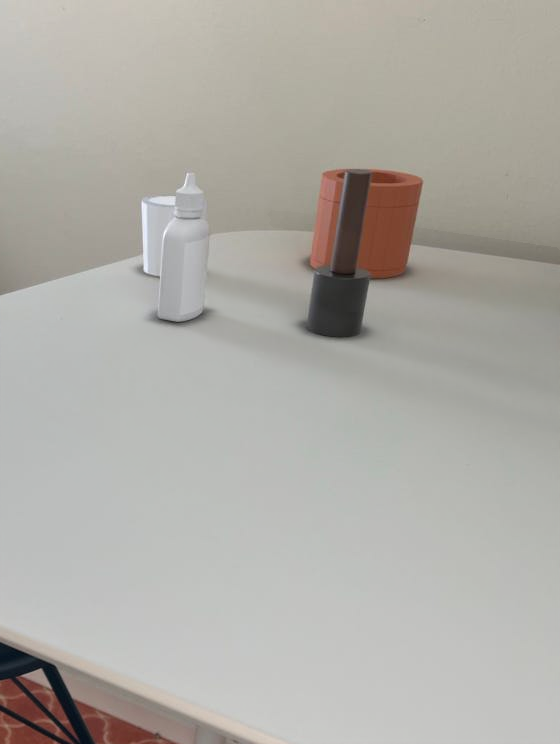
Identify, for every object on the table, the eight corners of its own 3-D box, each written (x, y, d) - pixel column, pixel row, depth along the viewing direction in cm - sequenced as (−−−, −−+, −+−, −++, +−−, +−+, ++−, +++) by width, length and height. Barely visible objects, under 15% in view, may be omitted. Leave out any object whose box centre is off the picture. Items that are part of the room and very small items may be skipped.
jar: (384, 255, 113) (400, 168, 108) (420, 278, 105) (438, 185, 100) (298, 255, 112) (309, 168, 107) (326, 279, 104) (340, 186, 99)
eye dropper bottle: (219, 317, 92) (232, 175, 85) (168, 324, 89) (178, 180, 83) (192, 305, 95) (203, 167, 88) (142, 312, 92) (150, 171, 86)
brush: (350, 320, 92) (376, 166, 84) (368, 336, 88) (397, 176, 80) (299, 321, 91) (321, 166, 84) (315, 337, 87) (340, 176, 80)
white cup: (177, 260, 109) (182, 191, 105) (215, 274, 104) (221, 203, 101) (125, 267, 106) (128, 196, 102) (161, 282, 101) (166, 208, 98)
